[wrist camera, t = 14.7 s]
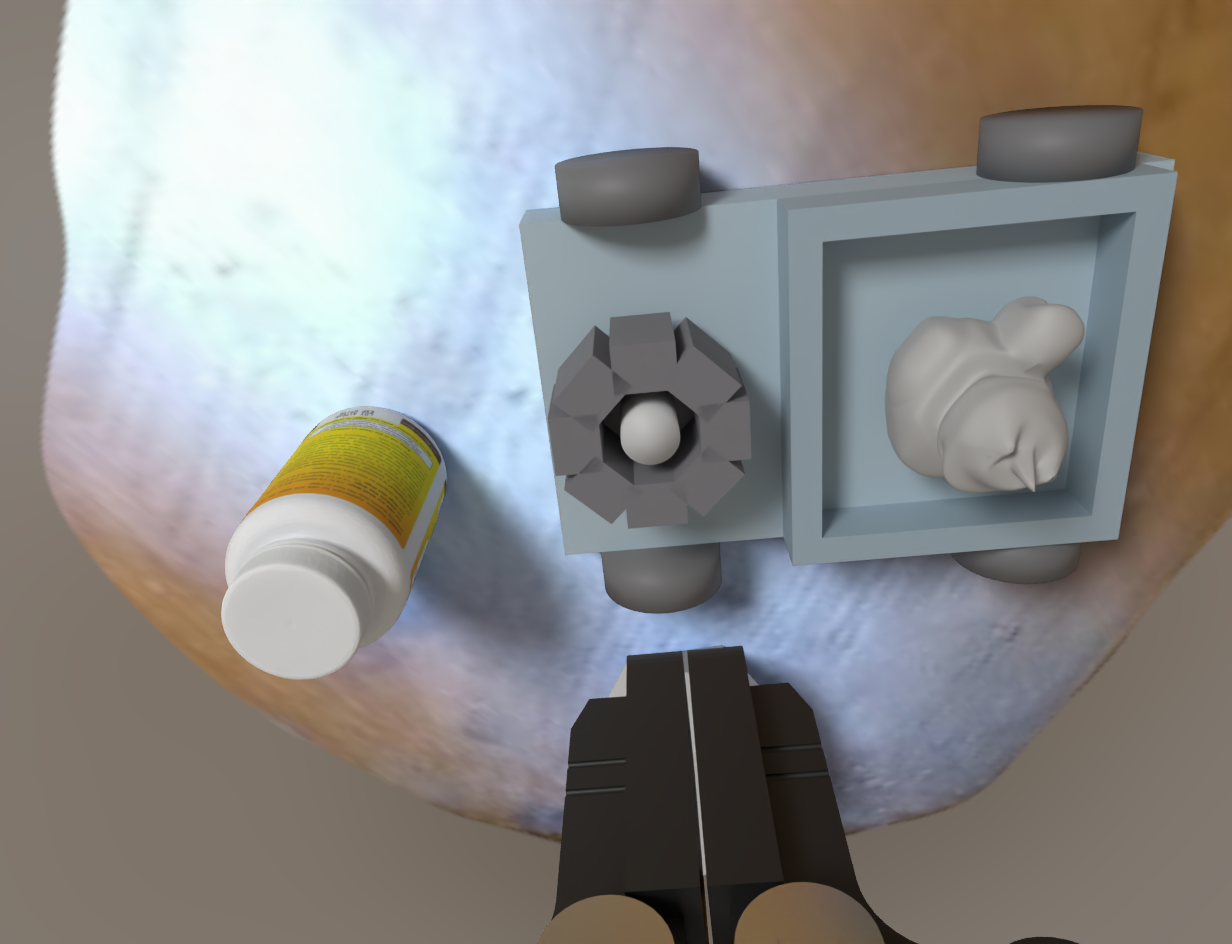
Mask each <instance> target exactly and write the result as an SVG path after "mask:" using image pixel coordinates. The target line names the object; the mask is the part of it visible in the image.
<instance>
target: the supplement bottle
mask: <svg viewBox="0 0 1232 944" xmlns="http://www.w3.org/2000/svg"><path fill="white" fill-rule="evenodd" d="M446 488H447V472H446V466H445V462H444V459H443V457H442V454H441V452H440V450H439V448H438V446H437V444H436V443H435V441H434V440H433V439H432V438H431V436H430V435H429V434H428V433H427V432H426V431H425V430H424V429H423V428H422V427H421V426H420V425H418V424H417V423H416V422H415V421H413V420H412V419H410V418H408V417H407V416H405V415H403V414H400V413H398V412H395V411H393V410H389V409H385V408H380V407H372V406H361V407H353V408H348V409H344V410H341V411H339V412H336V413H334V414H332V415H330V416H328V417H327V418H325V419H324V420H323V421H321V422H320V423H319V424H318V425H317V426H316V427H315V428H314V429H313V430H312V431H311V432H310V433H309V434H308V435H307V436H306V438H305V439H304V440H303V442H302V443H301V445H300V446H299V447H298V448H297V450H296V451H295V452H294V454H293V455H292V456H291V458H290V459H289V460H288V462H287V463H286V464H285V465H284V467H283V468H282V469H281V470H280V472H279V473H278V475H277V476H276V477H275V478H274V479H273V481H272V482H271V484H270V485H269V487H268V488H267V489H266V491H265V492H264V493H263V494H262V496H261V497H260V498H259V500H258V501H257V502H256V503H255V505H254V506H253V507H252V508H251V510H250V511H249V512H248V514H247V515H246V516H245V518H244V519H243V520H242V522H241V523H240V525H239V526H238V528H237V529H236V531H235V532H234V534H233V536H232V538H231V540H230V543H229V546H228V548H227V553H226V560H225V573H226V580H227V584H228V590H227V592H226V594H225V596H224V599H223V603H222V610H221V616H222V624H223V627H224V631H225V633H226V635H227V637H228V639H229V641H230V643H231V644H232V646H233V647H234V648H235V649H236V651H237V652H238V653H239V654H240V655H241V656H242V657H243V658H245V659H246V660H247V661H248V662H249V663H251V664H252V665H254V666H256V667H257V668H259V669H261V670H263V671H265V672H267V673H269V674H273V675H276V676H279V677H283V678H289V679H313V678H319V677H323V676H326V675H329V674H331V673H333V672H335V671H337V670H339V669H340V668H342V667H343V666H344V665H345V664H347V663H348V662H349V661H350V660H351V658H352V657H353V656H354V655H355V653H356V652H357V650H358V649H359V648H361V647H364V646H366V645H368V644H370V643H372V642H374V641H375V640H377V639H378V638H380V637H381V636H382V635H384V634H385V633H386V632H387V631H388V630H389V629H390V628H391V627H392V626H393V625H394V623H395V622H396V621H397V619H398V618H399V616H400V614H401V613H402V611H403V609H404V607H405V604H406V602H407V599H408V597H409V594H410V591H411V589H412V586H413V583H414V581H415V578H416V575H417V572H418V570H419V567H420V564H421V562H422V559H423V556H424V554H425V551H426V548H427V546H428V543H429V540H430V538H431V535H432V532H433V530H434V526H435V524H436V521H437V518H438V515H439V513H440V510H441V507H442V504H443V501H444V497H445V494H446Z"/></svg>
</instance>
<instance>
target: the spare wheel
mask: <svg viewBox="0 0 1232 944" xmlns="http://www.w3.org/2000/svg"><path fill="white" fill-rule="evenodd" d="M658 391H669V392H670V393H671V394H672V395H674V396H675V397H676V398H678V399H679V400H680V401H681V402H683V403H684V404H685V405H686V406H688V407H689V408H690V409H691V410H693V411H694V417H693V418H692V419H691V420H690V421H689V422H688V423H687V424H686V425H685V427H684V428H683V429H682V430H681V431H680V443H679V446H678V449H677V450H676V452H675V453H674V455H673V456H672V457H671V458H669V459H668V460H666V461H664V462H662V463H659V464H655V465H645V464H641V463H638V462H636V461H634V460H632V459H631V458H630V457H629V456H628V455H627V454H626V453H625V451H624V450H623V448H622V445H621V437H620V436H619V435H618V434H616V433H615V432H614V431H613V430H611V429H610V428H609V427H607V426H606V425H605V424H604V418H605V417H606V416H607V415H608V414H609V412H610V411H611V410H612V409H613V408H614V407H615V406H616V405H617V403H618V402H619V401H620V400H621V399H622V398H623V397H624V395H625V394H636V393H647V392H658ZM548 426H549V434H550V441H551V448H552V455H553V462H554V469H555V476H563V475H566V478H565V487H564V490H565V491H566V492H568V493H569V494H570V495H572V496H573V497H574V498H576V499H577V500H579V501H580V502H581V503H583V504H584V505H586V506H587V507H588V508H590V509H591V510H592V511H594V512H595V513H597V514H598V515H599V516H601V517H602V518H604V519H605V520H606V521H608V522H609V523H610V524H612V523H613V522H614V521H615V520H616V519H617V518H618V517H619V516H620V515H621V514H622V513H623V512H624V511H625V510H626V513H627V523H628V529H631V528H643V527H655V526H667V525H679V524H688V512H687V504H688V505H689V506H690V507H692V508H693V509H694V510H696V511H697V512H698V513H700V514H701V515H702V516H705V515H706V514H707V513H708V512H709V511H710V510H711V509H712V508H713V507H714V506H715V505H716V504H717V503H718V502H719V501H720V500H721V499H722V498H723V497H724V496H725V495H726V494H727V493H728V492H729V491H730V489H731V488H732V487H733V486H734V485H735V484H736V483H737V482H738V481H739V480H740V479H741V478H742V477H743V476H744V475H745V472H744V468H743V465H742V461H741V460H747V459H752V458H751V430H750V401H749V398H748V395H747V393H746V390H745V387H744V384H743V382H742V379H741V376H740V373H739V371H738V368H737V367H736V368H735V365H734V362H733V359H732V357H731V354H730V353H729V352H728V351H727V350H726V349H725V348H723V347H722V346H721V345H720V344H718V343H717V342H716V341H715V340H714V339H712V338H711V337H710V336H709V335H708V334H706V333H705V332H704V331H703V330H702V329H700V328H699V327H698V326H697V325H695V324H694V323H693V322H692V321H691V320H689V319H688V318H687V317H685V318H684V320H683V321H682V322H681V323H680V324H679V325H678V326H677V328H676V329H675V330H674V331H673V326H672V321H671V315H670V312H662V313H652V314H641V315H630V316H620V317H610V335H609V336H608V335H607V334H605V333H604V332H603V331H602V330H600V329H599V328H598V327H597V326H594V327H593V328H592V329H591V330H590V332H589V333H588V334H587V335H586V336H585V338H584V339H583V340H582V341H581V342H580V344H579V345H578V346H577V347H576V348H575V350H574V351H573V352H572V353H571V354H570V356H569V357H568V358H567V359H566V360H565V362H564V363H563V364H562V365H561V366H560V367H559V369H558V373H557V379H556V384H554V386H553V391H552V397H551V402H550V408H549V413H548Z"/></svg>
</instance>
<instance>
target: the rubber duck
mask: <svg viewBox="0 0 1232 944" xmlns="http://www.w3.org/2000/svg"><path fill="white" fill-rule="evenodd" d="M1084 335H1085V327H1084V323H1083V321H1082V319H1081V317H1080V316H1079V315H1078V314H1077V312H1076V311H1075V310H1074V309H1072V308H1070V307H1068V306H1065V305H1061V304H1048V303H1047V302H1046V301H1045V300H1043V299H1041V298H1038V297H1021V298H1018V299H1015V300H1013V301H1011V302H1010V303H1008V304H1007V305H1005V306H1004V307H1003V308H1002V309H1001V310H1000V311H999V312H998V313H997V315H996V316H995V318H994V319H993V320H992V321H984V320H979V319H975V318H960V319H957V318H951V317H943V316H934V317H929V318H926V319H924V320H923V321H922V322H920V323H919V324H918V325H917V327H916V328H915V329H914V330H913V331H912V332H911V334H910V335H909V336H908V337H907V338H906V339H905V341H904V342H903V343H902V344H901V345H900V347H899V348H898V349H897V350H896V352H895V353H894V355H893V357H892V359H891V362H890V365H889V369H888V374H887V382H886V391H885V416H886V424H887V433H888V437H889V439H890V441H891V444H892V447H893V449H894V451H895V453H896V455H897V456H898V458H899V459H900V460H901V461H902V462H903V463H904V464H905V465H906V466H907V467H909V468H910V469H912V470H913V471H915V472H917V473H919V474H921V475H924V476H928V477H944V478H945V480H946V481H947V482H948V484H950V485H951V486H952V487H954V488H955V489H957V490H960V491H965V492H972V493H981V492H992V491H1000V490H1004V491H1016V490H1019V489H1022V488H1027V487H1028V488H1029V489H1030V490H1032V491H1033V492H1035V487H1036V485H1039V484H1043V483H1049V482H1051V481H1054V480H1055V478H1056V477H1057V473H1058V470H1059V468H1060V466H1061V464H1062V461H1063V460H1064V458H1065V455H1066V452H1067V447H1068V440H1069V438H1068V429H1067V424H1066V421H1065V419H1064V416H1063V413H1062V410H1061V408H1060V405H1059V403H1058V400H1057V398H1056V396H1055V394H1054V392H1053V387H1052V383H1051V380H1050V378H1049V376H1048V375H1047V373H1048V372H1050V371H1051V370H1052V369H1054V368H1055V367H1057V366H1058V365H1060V364H1061V363H1062V362H1063V361H1064V360H1065V359H1067V358H1068V357H1069V356H1070V355H1071V354H1072V353H1073V351H1074V350H1075V349H1076V348H1077V347H1078V346H1079V345H1080V343H1081V342H1082V340H1083V338H1084Z"/></svg>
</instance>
